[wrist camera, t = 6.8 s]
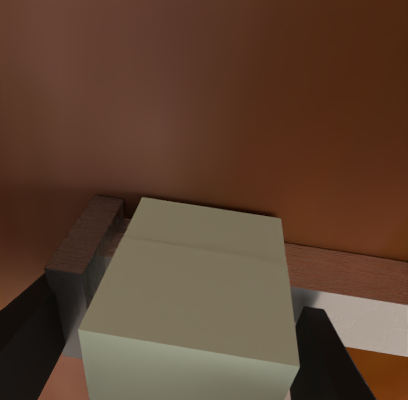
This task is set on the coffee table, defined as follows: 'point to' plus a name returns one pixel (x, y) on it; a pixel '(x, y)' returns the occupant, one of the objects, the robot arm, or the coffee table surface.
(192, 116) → the coffee table surface
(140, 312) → the block
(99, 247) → the slide rail
